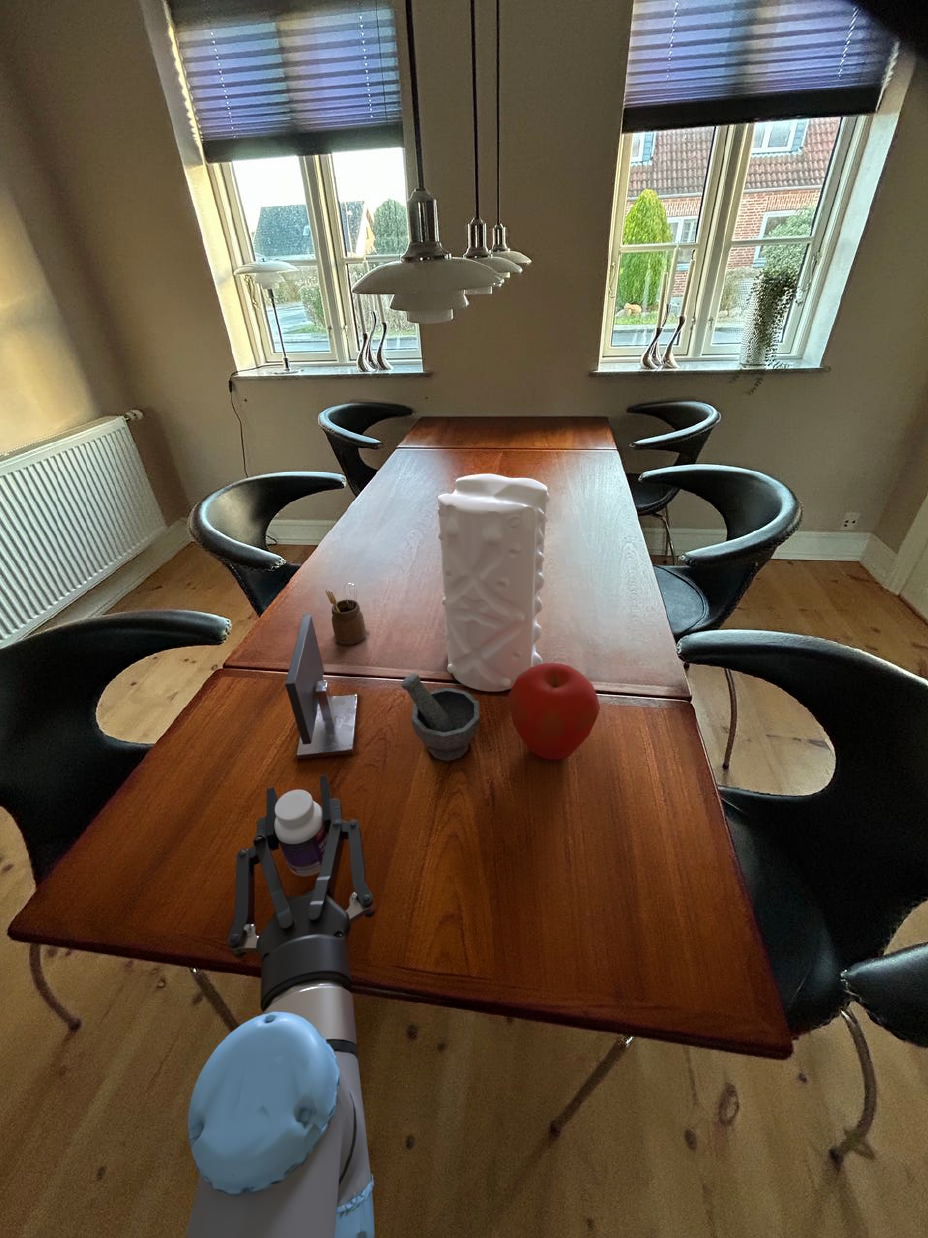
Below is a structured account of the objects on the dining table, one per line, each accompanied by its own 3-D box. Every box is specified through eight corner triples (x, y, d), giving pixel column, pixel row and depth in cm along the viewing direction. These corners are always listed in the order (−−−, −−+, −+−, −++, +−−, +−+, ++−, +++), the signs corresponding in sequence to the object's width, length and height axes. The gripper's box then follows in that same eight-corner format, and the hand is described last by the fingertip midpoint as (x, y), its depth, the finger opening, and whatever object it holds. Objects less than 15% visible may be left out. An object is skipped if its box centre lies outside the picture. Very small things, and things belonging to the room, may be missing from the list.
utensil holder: (372, 632, 103) (364, 579, 97) (351, 650, 99) (341, 595, 92) (349, 624, 106) (339, 572, 99) (327, 641, 101) (315, 587, 95)
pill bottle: (336, 870, 61) (320, 818, 56) (288, 884, 60) (267, 832, 55) (332, 830, 66) (317, 778, 60) (287, 842, 64) (267, 790, 59)
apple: (491, 746, 78) (490, 673, 70) (542, 705, 85) (546, 634, 77) (558, 795, 71) (566, 718, 63) (608, 746, 77) (621, 671, 69)
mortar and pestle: (489, 729, 81) (488, 668, 74) (470, 776, 74) (467, 713, 67) (421, 714, 84) (414, 654, 77) (396, 758, 77) (386, 696, 70)
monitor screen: (301, 744, 73) (284, 684, 67) (316, 671, 86) (302, 615, 80) (311, 744, 73) (294, 683, 67) (324, 670, 86) (311, 614, 80)
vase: (428, 679, 91) (412, 502, 73) (468, 628, 103) (462, 466, 85) (522, 705, 85) (529, 520, 67) (552, 649, 97) (564, 478, 79)
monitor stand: (297, 759, 77) (284, 717, 72) (308, 703, 87) (297, 663, 82) (352, 754, 78) (343, 711, 73) (357, 698, 88) (349, 658, 83)
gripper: (206, 1058, 45) (227, 828, 64) (417, 986, 49) (379, 789, 68) (176, 1023, 41) (208, 788, 60) (409, 947, 45) (371, 748, 63)
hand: (299, 789), depth 64 cm, fingers closed on pill bottle, 5 cm apart
